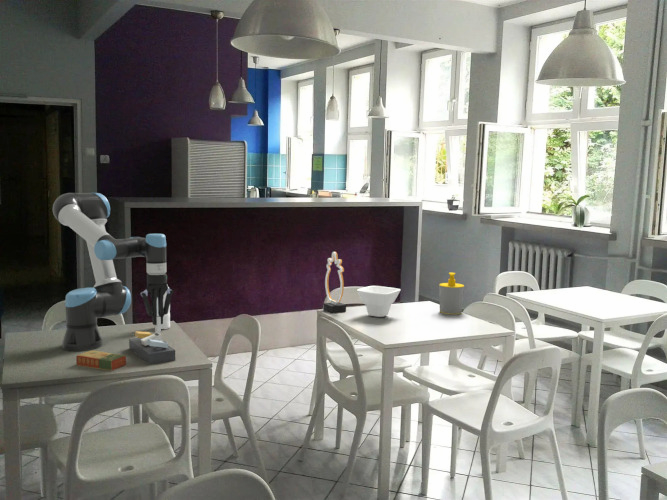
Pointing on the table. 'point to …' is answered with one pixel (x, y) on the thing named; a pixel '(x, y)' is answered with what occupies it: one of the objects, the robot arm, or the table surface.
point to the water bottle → (167, 316)
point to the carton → (101, 360)
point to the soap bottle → (451, 296)
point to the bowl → (378, 299)
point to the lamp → (336, 305)
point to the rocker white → (153, 337)
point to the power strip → (151, 352)
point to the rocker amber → (143, 334)
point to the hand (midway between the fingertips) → (158, 332)
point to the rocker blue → (157, 343)
